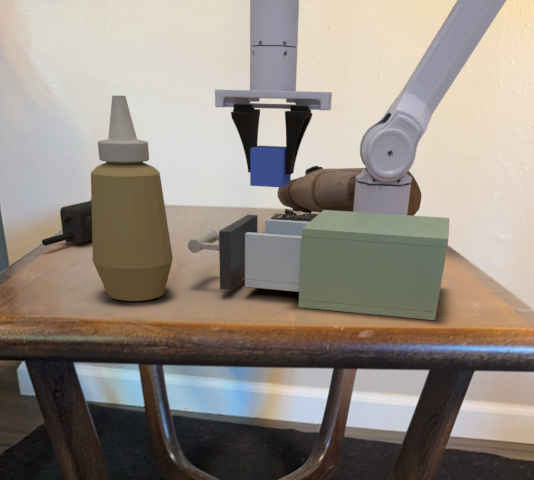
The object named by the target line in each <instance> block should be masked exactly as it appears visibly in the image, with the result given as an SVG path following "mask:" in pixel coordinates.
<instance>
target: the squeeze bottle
mask: <svg viewBox="0 0 534 480" xmlns="http://www.w3.org/2000/svg"><path fill="white" fill-rule="evenodd" d="M110 105H111V106H110V116H109V127H108V138H107V139H103V140H98V142H97V149H98V150H97V151H98V160H99V161H101V162H104V163H101V164H99V165H97V166H96V167H94V169H93V170H92V171H91V172H90V195H91V197H90V198H91V202H92V240H91V241H92V246H91V247H92V263H93V265H94V267H95V269H96V272H97V274H98V277H99V278H100V280H101V283H102V285H103V287H104V289H105V292H106V294H107V296H109V297H110V298H111V299H115V300H118V301H126V302H141V301H149V300H153V299H156V298H157V299H158V298H160V297H162V296H164V295H165V291H166V288H167V284H168V280H169V275H170V273H171V269H172V268H171V267H172V264H173V260H174V259H173V251H172V244H171V237H170V232H169V225H168V217H167V211H166V205H165V199H164V192H163V191H164V190H163V185H162V179H161V172H160V171H159V170H158V169H157V168H156V167H155V166H153V165H151V164H147V163H145V162H148V161H150V152H149V142H148V141H146V140H142V139H138V137H137V134H136V130H135V126H134V123H133V119H132V118H133V117H132V114H131V112H130V108H129V104H128V100H127V96H126V95H111V104H110Z"/></svg>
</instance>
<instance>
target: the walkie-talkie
mask: <svg viewBox="0 0 534 480" xmlns="http://www.w3.org/2000/svg"><path fill="white" fill-rule="evenodd" d="M59 215H60V223H61V231H62V234H58V235H54V236H50V237H47V238H43V239H42V240H41V243H42V245H43V246H45V247H46V246H49V245H53V244H56V243H60V242H63V241H65V242H66V243H69V244H78V245H81V244H84V243H87V242H88V243H89V242H91V241H92V202H91V201H90V200H87V201H83V202H79V203H75V204H69V205H66V206H65V205H64V206H62V207H61V208H60V210H59Z"/></svg>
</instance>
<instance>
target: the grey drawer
mask: <svg viewBox="0 0 534 480" xmlns="http://www.w3.org/2000/svg"><path fill="white" fill-rule="evenodd" d="M258 219H259V218H258V215H257V214H246V215H245V216H243V217H241V218H240V219H238V220H236V221H234V222H233V223H232V222H231V223H230V224H229V225H227V226H225V227H224V228H222V229H220V230H218V232H217V230H216V229H213V228H211V229H208V230H206V231H204V232H202V233H200V234H199V235H197V236H195V237H194V238H191V239H190V240H189V241H188V243H187V248H188V250H189V251H190V252H191V253H193V254H197V253H199V252H200V251H203V250H205V251H218V252H219V257H218V259H219V290H221V291H222V290H223V291H224V290H225V291H232V290H233V289H234V288H235V287H236V286H238V285H239V284H240V283H241V282H242V281H243V280H244V287H245V288H253V289H263V290H276V291H285V292H286V291H287V292H297V293H299V284H300V263H301V242H302V228H303V227H304V226H306V225H307V224H308V223H309V222H306V221H291V220H276V219H270V218H267V219H265V232H264V233H263V232H258ZM217 241H218V243H217Z"/></svg>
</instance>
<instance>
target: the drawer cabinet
mask: <svg viewBox="0 0 534 480" xmlns="http://www.w3.org/2000/svg"><path fill="white" fill-rule="evenodd" d="M315 216H316V217H315V218H314V219H313V220H311V221H310V222H309V223H308V224H307V225H306V226H304V227H303V228H302V242H301V263H300V284H299V292H298V308H302V309H303V308H304V309H312V310H322V311H332V312H342V313H343V312H344V313H353V314H354V313H355V314H362V315H363V314H364V315H374V316H386V317H395V318H406V319H417V320H426V321H427V320H428V321H436V318H437V317H436V316H437V311H438V307H439V306H438V304H439V299H440V293H441V287H442V280H443V276H444V275H443V274H444V268H445V263H446V256H447V250H448V244H449V237H450V236H449V235H450V217H442V216H441V217H440V216H426V215H425V216H424V215H423V216H422V215H414V216H411V215H395V214H379V213H364V212H348V211H332V210H323V211H322V212H319V213H318V214H317V215H315Z"/></svg>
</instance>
